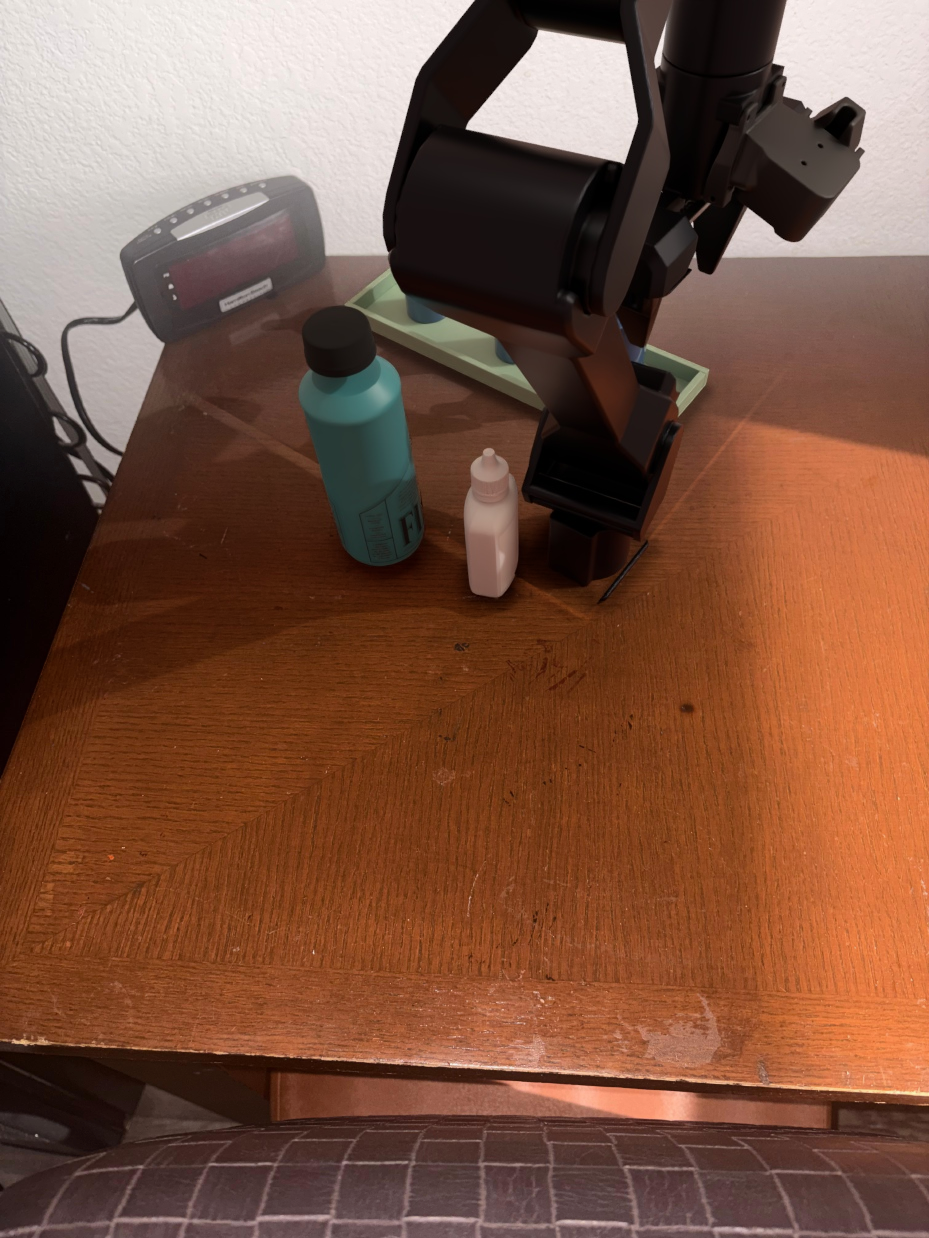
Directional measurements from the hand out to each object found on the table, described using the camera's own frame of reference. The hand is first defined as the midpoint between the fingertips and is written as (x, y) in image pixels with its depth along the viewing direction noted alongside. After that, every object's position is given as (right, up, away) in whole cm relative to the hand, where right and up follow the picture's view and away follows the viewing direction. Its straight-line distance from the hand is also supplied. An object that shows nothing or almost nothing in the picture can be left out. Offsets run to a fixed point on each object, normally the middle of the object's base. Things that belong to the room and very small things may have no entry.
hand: (672, 307), depth 57 cm
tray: (-9, +2, +18) cm, 20 cm away
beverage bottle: (-20, -16, +7) cm, 26 cm away
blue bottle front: (-2, -2, +13) cm, 13 cm away
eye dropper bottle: (-12, -17, +5) cm, 22 cm away
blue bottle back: (-17, +7, +21) cm, 28 cm away
